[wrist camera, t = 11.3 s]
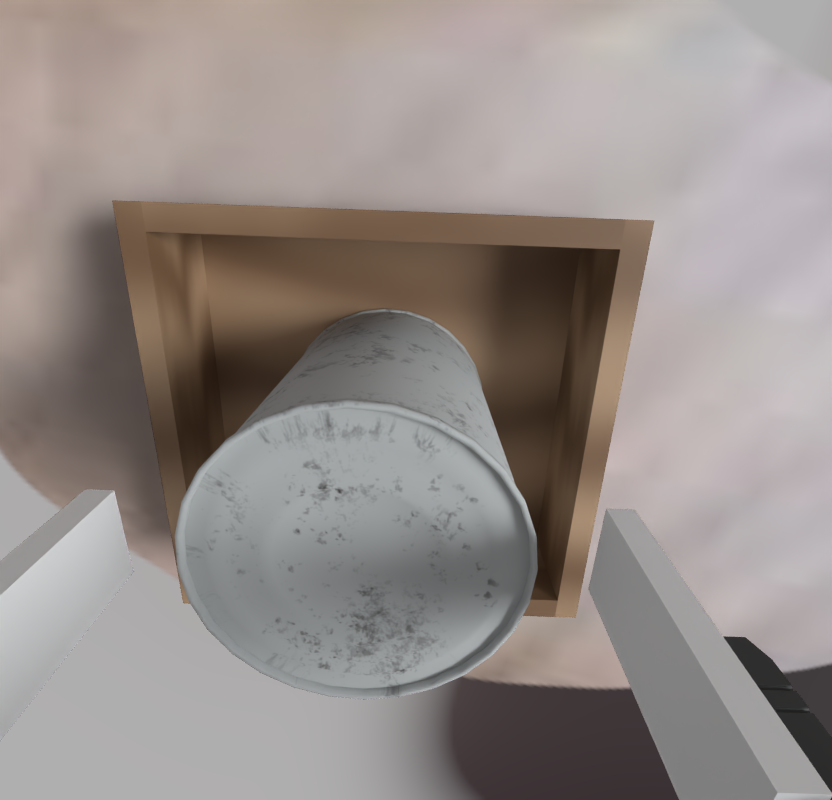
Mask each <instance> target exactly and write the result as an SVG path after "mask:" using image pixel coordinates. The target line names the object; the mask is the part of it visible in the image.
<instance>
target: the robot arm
mask: <svg viewBox="0 0 832 800" xmlns="http://www.w3.org/2000/svg"><path fill="white" fill-rule="evenodd" d="M133 572H134V571H133V567H132V563H131V559H130V554H129V550H128V546H127V542H126V538H125V534H124V529H123V525H122V521H121V517H120V513H119V509H118V504H117V500H116V496H115V492H114V490H90V489H85V490H84V491H83V492H82V493H80V494H79V495H78V496H77V497H76V498H75V499H73V500H72V501H71V502H70V503H69V504H67V505H66V506H65V507H64V508H63V509H61V510H60V511H59V512H58V513H57V514H55V515H54V516H53V517H52V518H51V519H50V520H48V521H47V522H46V523H45V524H44V525H43V526H41V527H40V528H39V529H38V530H37V531H35V532H34V533H33V534H32V535H31V536H29V537H28V538H27V539H26V540H25V541H23V542H22V543H21V544H20V545H19V546H17V547H16V548H15V549H14V550H13V551H11V552H10V553H9V554H8V555H7V556H6V557H5V558H3V559H2V560H1V561H0V741H1V739H2V738H3V737H4V736H5V734H6V733H7V732H8V731H9V729H10V728H11V727H12V725H13V724H14V723H15V722H16V720H17V719H18V718H19V717H20V715H21V714H22V712H23V711H24V710H25V709H26V708H27V706H28V705H29V704H30V703H31V701H32V700H33V699H34V698H35V696H36V695H37V694H38V693H39V691H40V690H41V689H42V687H43V686H44V685H45V684H46V682H47V681H48V680H49V679H50V677H51V676H52V675H53V674H54V672H55V671H56V670H57V668H58V667H59V666H60V664H61V663H62V662H63V661H64V660H65V658H66V657H67V656H68V655H69V653H70V652H71V651H72V650H73V648H74V647H75V646H76V644H77V643H78V642H79V641H80V639H81V638H82V637H83V636H84V634H85V633H86V632H87V631H88V629H89V628H90V627H91V625H92V624H93V623H94V622H95V620H96V619H97V618H98V617H99V615H100V614H101V613H102V612H103V610H104V609H105V608H106V606H107V605H108V604H109V603H110V601H111V600H112V599H113V597H114V596H115V595H116V594H117V593H118V591H119V590H120V589H121V587H122V586H123V585H124V583H125V582H126V581H127V580H128V579H129V577H130V576H131V575H132V574H133ZM589 591H590V594H591V596H592V598H593V601H594V603H595V605H596V608H597V610H598V612H599V614H600V617H601V619H602V621H603V624H604V626H605V628H606V631H607V633H608V635H609V638H610V640H611V642H612V645H613V647H614V649H615V652H616V654H617V656H618V659H619V661H620V663H621V666H622V668H623V670H624V672H625V675H626V677H627V679H628V682H629V684H630V686H631V689H632V691H633V693H634V696H635V698H636V700H637V703H638V705H639V707H640V710H641V712H642V714H643V717H644V719H645V721H646V724H647V726H648V728H649V730H650V733H651V735H652V737H653V740H654V742H655V744H656V746H657V749H658V751H659V754H660V756H661V758H662V761H663V763H664V765H665V767H666V770H667V772H668V775H669V777H670V779H671V782H672V784H673V786H674V788H675V791H676V793H677V796H678V798H679V800H832V737H831V736H830V734H829V733H828V732H827V731H826V729H825V728H824V727H823V725H822V724H821V723H820V722H819V720H818V719H817V718H816V716H815V715H814V714H813V713H810V712H809V707H808V706H807V705H806V703H805V702H804V701H803V699H802V698H801V697H800V695H799V694H798V693H797V692H796V691H793V689H792V685H791V684H790V683H789V681H788V680H787V679H786V677H785V676H784V675H783V673H782V672H781V671H780V669H779V668H778V667H777V665H776V664H775V663H774V662H773V660H772V659H771V658H769V657H768V656H767V655H766V654H765V653H763V652H762V651H761V650H760V649H759V648H757V647H756V646H755V645H754V644H753V643H751V642H750V641H749V640H748V639H747V638H745V637H723V636H722V634H721V633H720V631H719V630H718V629H717V627H716V626H715V624H714V623H713V621H712V620H711V618H710V617H709V616H708V614H707V613H706V611H705V610H704V608H703V607H702V606H701V604H700V603H699V601H698V600H697V598H696V597H695V595H694V594H693V593H692V591H691V590H690V588H689V587H688V585H687V584H686V583H685V581H684V580H683V578H682V577H681V575H680V574H679V572H678V571H677V570H676V568H675V567H674V565H673V564H672V562H671V561H670V560H669V558H668V557H667V555H666V554H665V552H664V551H663V549H662V548H661V547H660V545H659V544H658V542H657V541H656V539H655V538H654V537H653V535H652V534H651V532H650V531H649V529H648V528H647V526H646V525H645V524H644V522H643V521H642V519H641V518H640V516H639V515H638V514H637V512H636V511H635V510H628V509H606V512H605V516H604V521H603V525H602V530H601V534H600V539H599V544H598V548H597V553H596V557H595V562H594V566H593V571H592V575H591V580H590V584H589Z"/></svg>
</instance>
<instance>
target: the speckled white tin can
mask: <svg viewBox="0 0 832 800" xmlns="http://www.w3.org/2000/svg"><path fill="white" fill-rule="evenodd" d="M175 546H176V558H177V570H178V573H179V575H180V578H181V581H182V584H183V587H184V589H185V592H186V595H187V598H188V601H189V602H190V604H191V605H192V607H193V608H194V610H195V611H196V613H197V614H198V616H199V618H200V619H201V621H202V622H203V624H204V625H205V626H206V628H207V630H209V632H210V633H211V634H212V635H214V636H215V637H216V638H217V639H218V640H219V641H220V642H221V643H222V644H223V645H224V646H225V647H226V648H227V649H228V650H229V651H230V652H231V653H232V654H233V655H235V656H236V657H238V658H239V659H241V660H242V661H244V662H245V663H247V664H248V665H250V666H251V667H253V668H254V669H256V670H257V671H259V672H260V673H262V674H264V675H267V676H269V677H271V678H273V679H276V680H278V681H280V682H283V683H285V684H287V685H290V686H292V687H294V688H298V689H302V690H306V691H310V692H314V693H318V694H322V695H326V696H332V697H342V698H354V699H377V698H391V697H400V696H405V695H409V694H413V693H417V692H421V691H425V690H430V689H433V688H436V687H438V686H440V685H443V684H445V683H447V682H449V681H451V680H454V679H456V678H458V677H461V676H463V675H465V674H466V673H468V672H469V671H471V670H472V669H473V668H475V667H476V666H478V665H479V664H481V663H482V662H484V661H485V660H486V659H488V658H489V657H491V656H492V655H493V654H494V653H495V652H496V651H497V649H498V648H499V647H500V646H501V645H502V644H503V643H504V642H505V641H506V640H507V639H508V638H509V636H510V635H511V634H512V633H513V632H514V630H515V629H516V627H517V625H518V623H519V621H520V620H521V618H522V616H523V614H524V612H525V611H526V609H527V607H528V605H529V603H530V599H531V595H532V591H533V587H534V583H535V579H536V575H537V571H538V565H537V536H536V533H535V530H534V527H533V524H532V520H531V517H530V514H529V511H528V508H527V505H526V502H525V499H524V498H523V496H522V494H521V493H520V491H519V490H518V488H517V487H516V485H515V482H514V479H513V476H512V473H511V471H510V468H509V465H508V462H507V459H506V456H505V454H504V451H503V448H502V445H501V442H500V439H499V437H498V434H497V431H496V428H495V425H494V422H493V420H492V417H491V414H490V411H489V408H488V405H487V403H486V400H485V397H484V394H483V391H482V384H481V381H480V378H479V375H478V372H477V369H476V365H475V363H474V362H473V360H472V358H471V357H470V355H469V353H468V352H467V350H466V349H465V347H464V346H463V345H462V344H461V343H460V342H459V341H458V339H457V338H456V337H455V336H454V335H453V334H452V333H451V332H450V331H449V330H447V329H445V328H444V327H442V326H441V325H439V324H437V323H436V322H434V321H433V320H431V319H429V318H427V317H424V316H421V315H418V314H415V313H412V312H409V311H403V310H394V309H386V308H385V309H377V310H368V311H362V312H359V313H356V314H353V315H350V316H348V317H345V318H342V319H340V320H339V321H337V322H336V323H334V324H333V325H331V326H330V327H328V328H326V329H325V330H323V332H322V333H321V334H320V335H319V336H318V337H317V338H316V339H315V340H314V341H313V342H312V343H311V344H310V345H309V346H308V348H307V350H306V352H305V353H304V355H303V356H302V357H301V359H300V360H299V361H298V362H297V363H296V364H295V365H294V367H293V368H292V369H291V370H290V371H289V372H288V373H287V375H286V376H285V377H284V378H283V379H282V380H281V381H280V383H279V384H278V385H277V386H276V387H275V388H274V389H273V391H272V392H271V393H270V394H269V395H268V396H267V397H266V399H265V400H264V401H263V402H262V403H261V404H260V405H259V407H258V408H257V409H256V410H255V411H254V412H253V413H252V415H251V416H250V417H249V418H248V419H247V420H246V421H245V423H244V424H243V425H242V426H241V427H240V428H239V429H238V431H237V432H236V433H235V434H234V435H232V436H230V437H229V438H227V439H226V440H225V441H224V442H223V443H222V444H221V446H220V447H219V448H218V449H217V450H216V451H215V452H214V453H213V454H212V455H211V456H210V457H209V458H208V459H207V460H206V461H205V462H204V464H203V465H202V466H201V467H200V468H199V469H198V471H197V473H196V475H195V476H194V478H193V480H192V482H191V484H190V486H189V488H188V490H187V492H186V494H185V496H184V497H183V499H182V502H181V507H180V512H179V517H178V522H177V527H176V532H175Z"/></svg>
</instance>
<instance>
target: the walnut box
mask: <svg viewBox="0 0 832 800" xmlns="http://www.w3.org/2000/svg"><path fill="white" fill-rule="evenodd" d="M112 202H113V208H114V213H115V219H116V225H117V230H118V236H119V242H120V247H121V253H122V259H123V264H124V270H125V276H126V281H127V287H128V293H129V298H130V304H131V310H132V315H133V321H134V327H135V332H136V338H137V344H138V349H139V355H140V361H141V366H142V372H143V378H144V383H145V389H146V395H147V401H148V406H149V412H150V418H151V423H152V429H153V435H154V440H155V446H156V452H157V457H158V463H159V469H160V474H161V480H162V486H163V491H164V497H165V503H166V508H167V514H168V520H169V525H170V531H171V537H172V542H173V548H174V554H175V559H176V565H177V558H176V546H175V532H176V527H177V522H178V517H179V512H180V507H181V502H182V499H183V497H184V496H185V494H186V492H187V490H188V488H189V486H190V484H191V482H192V480H193V478H194V476H195V475H196V473H197V471H198V469H199V468H200V467H201V466H202V465H203V464H204V462H205V461H206V460H207V459H208V458H209V457H210V456H211V455H212V454H213V453H214V452H215V451H216V450H217V449H218V448H219V447H220V446H221V444H222V443H223V442H224V441H225V440H226V439H227V438H229V437H230V436H232V435H234V434H235V433H236V432H237V431H238V429H239V428H240V427H241V426H242V425H243V424H244V423H245V421H246V420H247V419H248V418H249V417H250V416H251V415H252V413H253V412H254V411H255V410H256V409H257V408H258V407H259V405H260V404H261V403H262V402H263V401H264V400H265V399H266V397H267V396H268V395H269V394H270V393H271V392H272V391H273V389H274V388H275V387H276V386H277V385H278V384H279V383H280V381H281V380H282V379H283V378H284V377H285V376H286V375H287V373H288V372H289V371H290V370H291V369H292V368H293V367H294V365H295V364H296V363H297V362H298V361H299V360H300V359H301V357H302V356H303V355H304V353H305V352H306V350H307V348H308V346H309V345H310V344H311V343H312V342H313V341H314V340H315V339H316V338H317V337H318V336H319V335H320V334H321V333H322V332H323V330H325V329H326V328H328V327H330V326H331V325H333V324H334V323H336V322H337V321H339V320H340V319H342V318H345V317H348V316H350V315H353V314H356V313H359V312H362V311H368V310H377V309H385V308H386V309H394V310H403V311H409V312H412V313H415V314H418V315H421V316H424V317H427V318H429V319H431V320H433V321H434V322H436V323H437V324H439V325H441V326H442V327H444V328H445V329H447V330H449V331H450V332H451V333H452V334H453V335H454V336H455V337H456V338H457V339H458V341H459V342H460V343H461V344H462V345H463V346H464V347H465V349H466V350H467V352H468V353H469V355H470V357H471V358H472V360H473V362H474V363H475V365H476V369H477V372H478V375H479V378H480V381H481V384H482V391H483V394H484V397H485V400H486V403H487V405H488V408H489V411H490V414H491V417H492V420H493V422H494V425H495V428H496V431H497V434H498V437H499V439H500V442H501V445H502V448H503V451H504V454H505V456H506V459H507V462H508V465H509V468H510V471H511V473H512V476H513V479H514V482H515V485H516V487H517V488H518V490H519V491H520V493H521V494H522V496H523V498H524V499H525V502H526V505H527V508H528V511H529V514H530V517H531V520H532V524H533V527H534V530H535V533H536V536H537V565H538V571H537V575H536V579H535V583H534V587H533V591H532V595H531V599H530V603H529V605H528V607H527V609H526V611H525V612H524V614H523V616H545V617H572V618H576V613H577V608H578V603H579V598H580V593H581V588H582V583H583V578H584V573H585V568H586V563H587V558H588V552H589V547H590V542H591V537H592V532H593V527H594V522H595V517H596V512H597V507H598V502H599V497H600V492H601V487H602V482H603V477H604V472H605V467H606V462H607V457H608V452H609V447H610V442H611V436H612V431H613V426H614V421H615V416H616V411H617V406H618V401H619V396H620V391H621V386H622V381H623V376H624V371H625V366H626V361H627V356H628V351H629V346H630V341H631V336H632V331H633V326H634V321H635V315H636V310H637V305H638V300H639V295H640V290H641V285H642V280H643V275H644V270H645V265H646V260H647V255H648V250H649V245H650V240H651V235H652V230H653V225H654V221H650V220H623V219H596V218H569V217H542V216H516V215H489V214H462V213H435V212H408V211H381V210H354V209H327V208H301V207H274V206H247V205H220V204H193V203H166V202H139V201H112ZM177 571H178V570H177ZM178 576H179V582H180V588H181V593H182V599H183V603H188V604H190V602H189V601H188V598H187V595H186V592H185V589H184V587H183V584H182V581H181V578H180V575H179V573H178Z"/></svg>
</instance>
